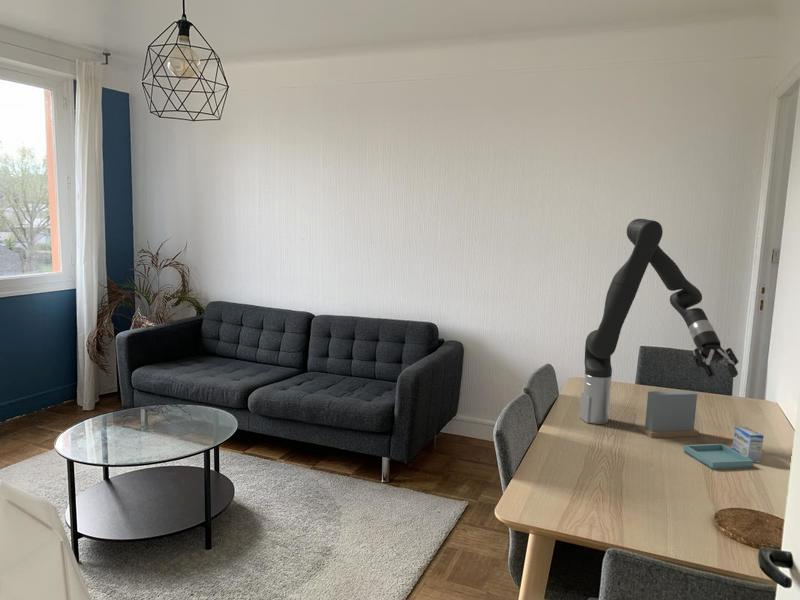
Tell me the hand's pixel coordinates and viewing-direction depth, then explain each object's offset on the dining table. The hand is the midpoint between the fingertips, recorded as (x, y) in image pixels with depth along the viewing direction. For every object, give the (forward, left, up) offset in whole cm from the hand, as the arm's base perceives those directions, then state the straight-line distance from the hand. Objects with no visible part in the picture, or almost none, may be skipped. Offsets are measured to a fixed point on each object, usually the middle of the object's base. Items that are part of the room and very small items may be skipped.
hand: (723, 376), depth 196 cm
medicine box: (0, -13, -23) cm, 26 cm away
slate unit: (-12, +9, -22) cm, 27 cm away
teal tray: (-11, -14, -22) cm, 29 cm away
